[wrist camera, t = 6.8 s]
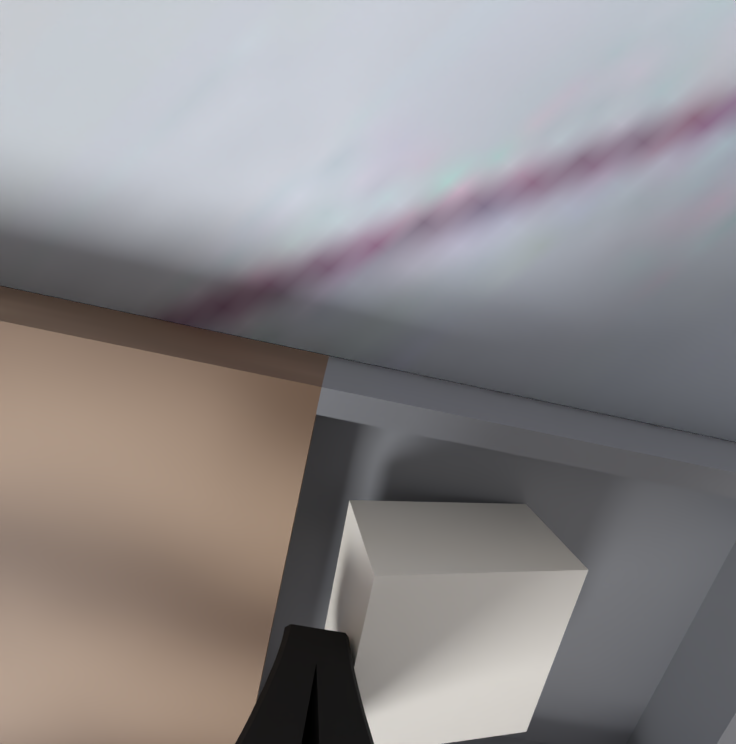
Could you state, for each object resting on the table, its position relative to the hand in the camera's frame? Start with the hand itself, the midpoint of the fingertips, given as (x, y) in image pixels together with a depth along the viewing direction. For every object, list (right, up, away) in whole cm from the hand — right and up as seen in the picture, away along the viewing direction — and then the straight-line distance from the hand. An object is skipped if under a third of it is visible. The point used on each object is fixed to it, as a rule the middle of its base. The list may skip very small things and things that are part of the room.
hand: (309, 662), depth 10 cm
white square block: (+3, +1, +2) cm, 4 cm away
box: (+5, 0, +4) cm, 6 cm away
